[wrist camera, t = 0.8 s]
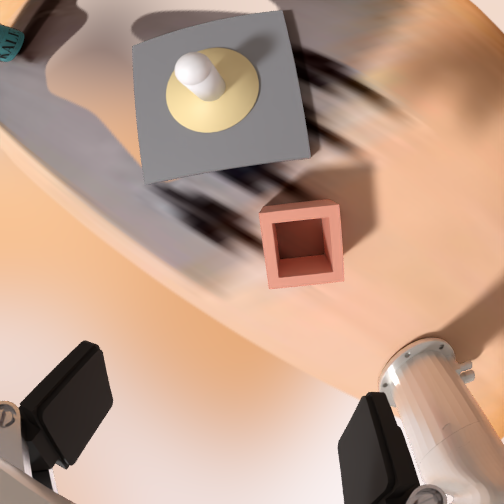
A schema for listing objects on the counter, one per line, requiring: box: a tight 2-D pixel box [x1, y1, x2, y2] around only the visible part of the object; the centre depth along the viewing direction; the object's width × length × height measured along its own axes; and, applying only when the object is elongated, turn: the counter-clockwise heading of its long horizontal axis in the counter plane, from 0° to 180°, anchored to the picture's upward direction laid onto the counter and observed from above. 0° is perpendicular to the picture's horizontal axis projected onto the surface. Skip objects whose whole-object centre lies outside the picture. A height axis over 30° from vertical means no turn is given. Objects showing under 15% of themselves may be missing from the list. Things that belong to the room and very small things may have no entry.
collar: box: [259, 199, 344, 289], centre depth 28 cm, size 7×7×6 cm
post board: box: [132, 10, 311, 185], centre depth 23 cm, size 18×18×9 cm
